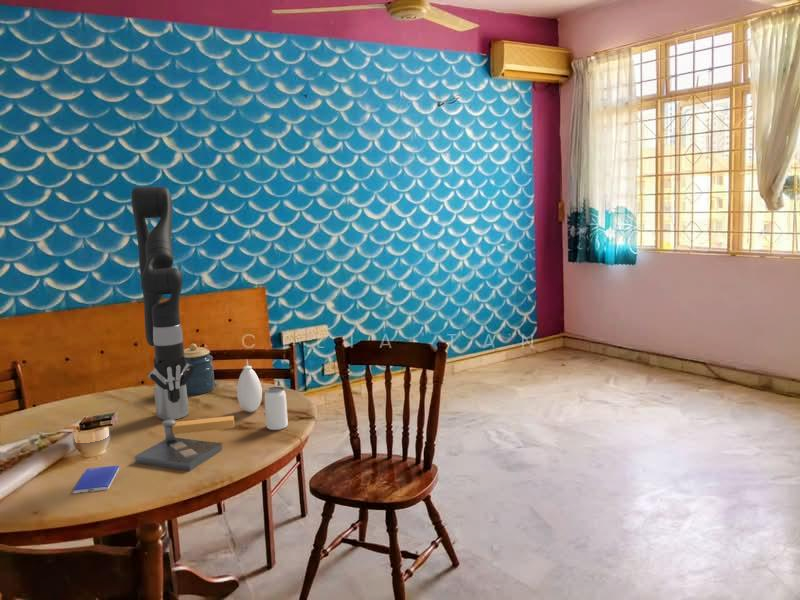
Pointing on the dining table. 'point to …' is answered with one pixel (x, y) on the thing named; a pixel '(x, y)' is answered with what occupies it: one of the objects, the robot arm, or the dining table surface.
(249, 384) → the sauce bottle
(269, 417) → the can
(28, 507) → the dining table surface
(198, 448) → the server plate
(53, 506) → the dining table surface
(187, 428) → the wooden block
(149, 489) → the dining table surface
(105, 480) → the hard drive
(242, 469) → the dining table surface
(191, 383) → the canister
